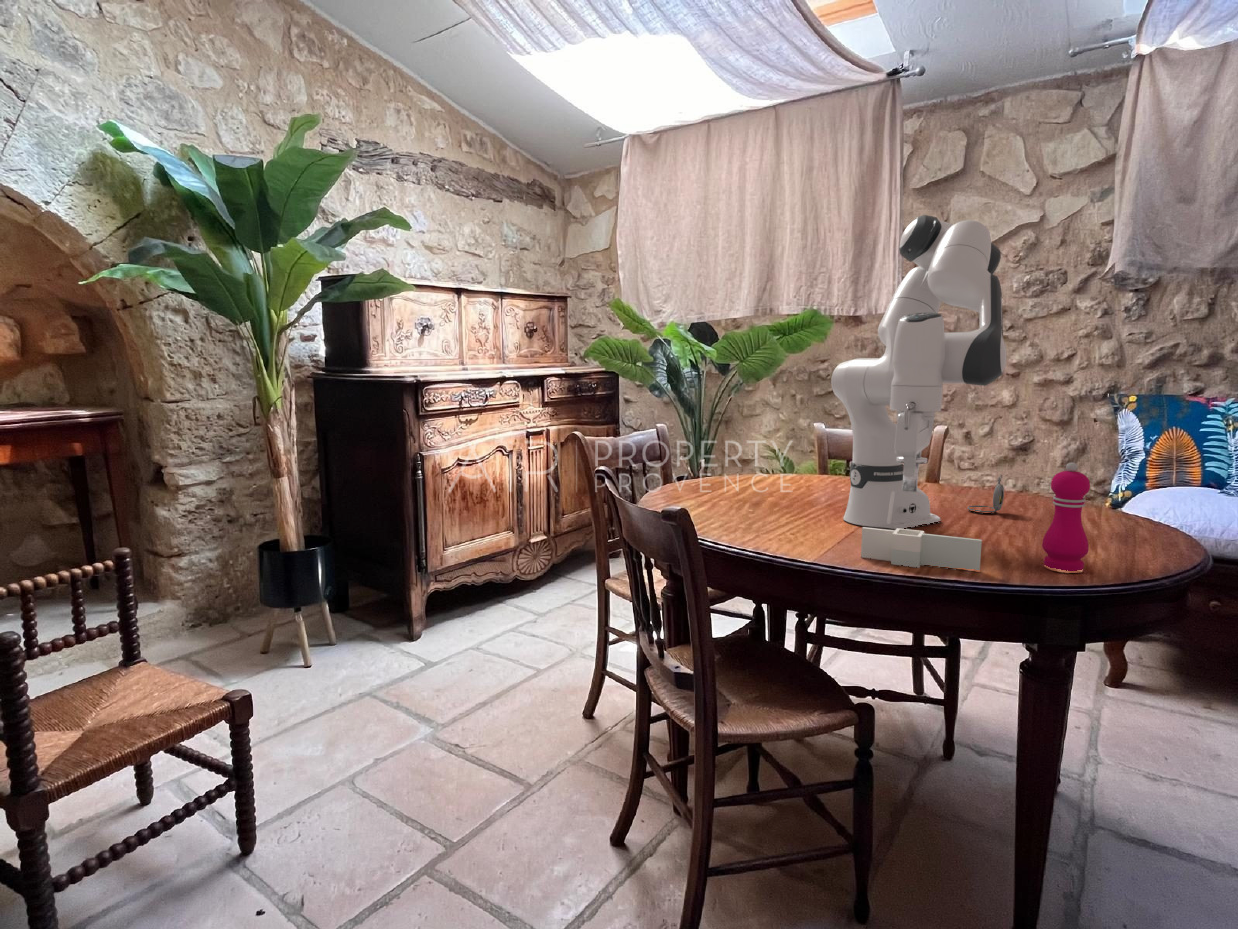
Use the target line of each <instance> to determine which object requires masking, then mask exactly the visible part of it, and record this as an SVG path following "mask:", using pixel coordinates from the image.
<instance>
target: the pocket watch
mask: <svg viewBox="0 0 1238 929" xmlns="http://www.w3.org/2000/svg"><path fill="white" fill-rule="evenodd" d="M1002 479H1003V474H1000V475H999V477H998V479H997V484H996V486H995V487H994V490H993V496H992V506H988V505H968V506H967V510H968V509H969V510H974V509H970V508H969V507H990V508H992V509H995V510H994V511H981V510H975V511H980V512H995V511H997V512H998V511H1000V510H1001V509H1002V507H1003V504H1004V498H1005V497H1004V496H1005V488H1004V485H1003V484H1001V481H1002ZM969 510H968V511H969Z"/></svg>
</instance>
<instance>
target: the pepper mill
mask: <svg viewBox="0 0 1238 929" xmlns="http://www.w3.org/2000/svg"><path fill="white" fill-rule="evenodd" d="M1078 468H1079V467H1078V464H1077V463H1075V462H1068V463H1067V464H1066V466H1065V470H1063V471H1060V472H1057V473H1055V475H1054V476H1053V477H1052V479H1051V482H1050V488H1051V491H1052V492H1053V493H1054V495H1053V497H1052V498H1053V501H1052V504H1053V505H1054V514H1053V518H1052V521H1051V524H1050V525H1049V527H1048V529H1047V530H1046V532H1045V534H1044V536H1043V539H1042V544H1041V547H1042V550H1043V551H1044V552H1045V553H1046V554H1047V556H1045V557H1043V566H1044V565H1046V566H1048V567H1050V568H1056V569H1061V570H1066V571H1067V570H1068V571H1077V570H1082V569H1083V568H1084V567H1085V562H1084V561H1083V560H1082V559H1083V558H1084V557H1085V556H1086V555H1087V554H1088V553H1089V550H1090V548H1089V541H1088V537H1087V535H1086V534H1087V533H1086V532H1085V530H1084V529H1085V528H1084V527H1083V522H1082V511H1083V508H1084V507H1085V506H1086V504H1085V502H1086V499H1085V498H1084V497H1086V495H1087V494H1088V493H1089V492H1090V489H1091V483H1090V479H1089V477H1088V476H1087V475H1086V474H1084V473H1082V472H1080V471H1077V470H1078Z"/></svg>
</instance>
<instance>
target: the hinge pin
mask: <svg viewBox="0 0 1238 929" xmlns="http://www.w3.org/2000/svg"><path fill="white" fill-rule="evenodd" d="M896 462H900V463H902V464H904V462H903V456H898V457H896ZM927 463H928V458H927V457H922V456H921V457H916V464H915V467H916V470H915V475H914V476H913V477H906V476H904V470H903V485H902V491H907V492H917V488H918V481H919V471H918V469H919V470H920V465H924V464H927Z"/></svg>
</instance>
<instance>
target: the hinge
mask: <svg viewBox="0 0 1238 929" xmlns="http://www.w3.org/2000/svg"><path fill="white" fill-rule="evenodd" d="M982 542H983V540H982V539H978V538H971V537H970V538H969V537H961V536H950V535H942V534H941V535H940V534H931V533H925V531H924V530H919V529H918V530H917V529H910V528H906V529H900V528H897V529H887V528H877V527H868V526H862V527H861V543H860V544H861V550H860V551H861V552H860V558H861V559H862V558H863V559H870V558H871V560H877V561H884V562H885V561H887V562H890V564H891V565H895V566H901V565H903V566H902V567H908V566H909V567H911V568H916V567H917V569H918V568H919V569H920V567H921V566H924V565H931V566H930V567H932V566H939V567H938V568H940V567H949V568H965V569H975V570H980V571H981V559H982V558H981V557H982V556H981V555H982V545H983V544H982Z"/></svg>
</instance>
